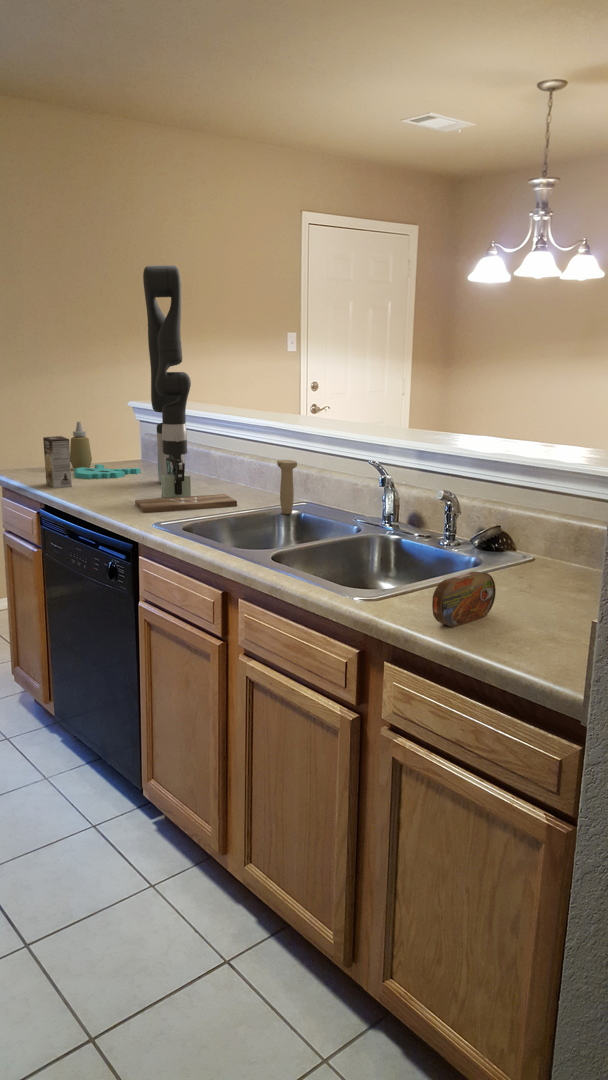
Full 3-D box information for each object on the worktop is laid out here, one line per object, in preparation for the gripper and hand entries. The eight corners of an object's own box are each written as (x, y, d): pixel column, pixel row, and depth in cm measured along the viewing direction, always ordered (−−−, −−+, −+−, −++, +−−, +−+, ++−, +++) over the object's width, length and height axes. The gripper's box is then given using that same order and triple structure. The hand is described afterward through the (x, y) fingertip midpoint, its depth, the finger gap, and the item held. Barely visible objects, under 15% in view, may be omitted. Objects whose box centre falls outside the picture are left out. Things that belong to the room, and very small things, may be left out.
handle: (285, 516, 227) (285, 463, 224) (273, 512, 232) (273, 460, 229) (299, 514, 230) (300, 462, 226) (287, 510, 235) (288, 459, 231)
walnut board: (135, 504, 241) (134, 499, 240) (224, 498, 251) (224, 493, 251) (143, 512, 230) (143, 507, 230) (237, 505, 241) (236, 500, 240)
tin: (441, 631, 138) (444, 584, 136) (427, 626, 140) (429, 580, 138) (495, 614, 147) (498, 569, 145) (481, 609, 150) (484, 566, 148)
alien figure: (99, 469, 307) (61, 477, 290) (98, 464, 307) (60, 471, 290) (140, 474, 298) (103, 482, 281) (140, 468, 298) (103, 475, 281)
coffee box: (45, 484, 273) (42, 436, 270) (64, 482, 277) (61, 435, 273) (53, 488, 266) (50, 439, 262) (72, 486, 270) (70, 438, 266)
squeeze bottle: (66, 470, 301) (63, 422, 297) (76, 467, 309) (73, 420, 305) (87, 471, 300) (84, 423, 296) (95, 468, 308) (93, 421, 304)
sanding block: (161, 496, 252) (161, 474, 250) (186, 495, 255) (186, 473, 253) (165, 499, 248) (164, 477, 246) (190, 498, 251) (190, 475, 249)
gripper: (157, 436, 252) (158, 489, 256) (168, 441, 239) (170, 497, 243) (180, 435, 255) (181, 488, 259) (192, 440, 242) (194, 496, 246)
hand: (176, 492), depth 251 cm, fingers closed on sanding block, 5 cm apart
